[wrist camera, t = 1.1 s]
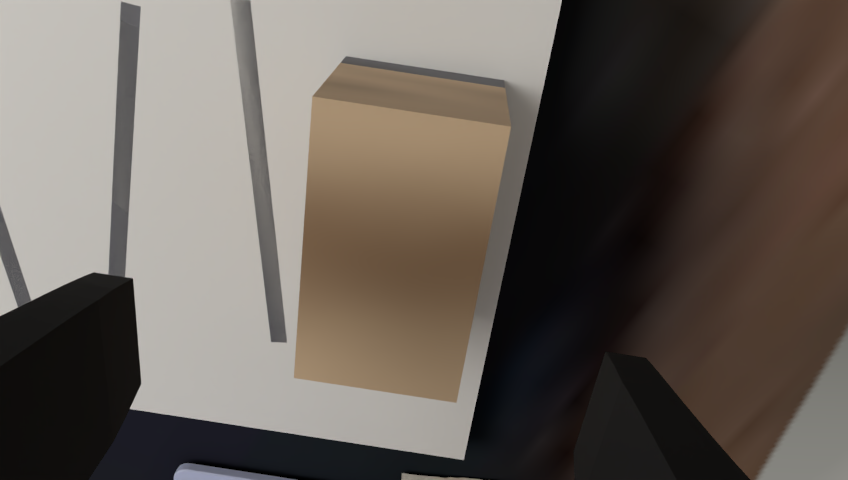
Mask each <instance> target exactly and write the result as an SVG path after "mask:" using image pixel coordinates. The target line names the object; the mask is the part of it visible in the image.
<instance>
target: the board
mask: <svg viewBox="0 0 848 480" xmlns="http://www.w3.org/2000/svg"><path fill="white" fill-rule="evenodd" d="M561 3H562V0H0V316H1V315H3V314H5V313H8V312H10V311H12V310H14V309H16V308H18V307H20V306H22V305H24V304H26V303H28V302H30V301H32V300H34V299H36V298H38V297H40V296H42V295H44V294H46V293H48V292H50V291H53V290H55V289H57V288H59V287H61V286H63V285H65V284H67V283H69V282H72V281H74V280H76V279H78V278H81V277H83V276H86V275H88V274H91V273H93V272H95V273H101V274H108V275H114V276H121V277H127V278H133V284H134V297H135V309H136V322H137V335H138V347H139V360H140V373H141V386H140V388H139V390H138V392H137V394H136V396H135V398H134V401H133V403H132V405H131V407H130V409H134V410H141V411H147V412H154V413H160V414H167V415H173V416H180V417H186V418H193V419H200V420H206V421H213V422H219V423H226V424H232V425H239V426H245V427H252V428H258V429H265V430H271V431H278V432H285V433H291V434H298V435H304V436H311V437H317V438H324V439H330V440H337V441H343V442H350V443H356V444H363V445H370V446H376V447H383V448H389V449H396V450H402V451H409V452H415V453H422V454H428V455H435V456H441V457H448V458H454V459H461V460H464V456H465V451H466V447H467V442H468V437H469V433H470V428H471V423H472V419H473V414H474V409H475V405H476V400H477V395H478V391H479V386H480V381H481V377H482V372H483V367H484V363H485V358H486V353H487V349H488V344H489V339H490V335H491V330H492V325H493V321H494V316H495V311H496V307H497V302H498V297H499V292H500V288H501V283H502V278H503V274H504V269H505V264H506V260H507V255H508V250H509V246H510V241H511V236H512V232H513V227H514V222H515V218H516V213H517V208H518V204H519V199H520V194H521V190H522V185H523V180H524V176H525V171H526V166H527V162H528V157H529V152H530V148H531V143H532V138H533V134H534V129H535V124H536V119H537V115H538V110H539V105H540V101H541V96H542V91H543V87H544V82H545V77H546V73H547V68H548V63H549V59H550V54H551V49H552V45H553V40H554V35H555V31H556V26H557V21H558V17H559V12H560V7H561ZM346 56H348V57H355V58H362V59H368V60H375V61H381V62H388V63H394V64H401V65H408V66H414V67H421V68H427V69H434V70H440V71H447V72H453V73H460V74H467V75H473V76H480V77H486V78H493V79H499V80H504V83H505V89H506V96H507V103H508V109H509V116H510V122H511V130H510V135H509V140H508V145H507V150H506V155H505V160H504V165H503V171H502V176H501V181H500V186H499V191H498V196H497V201H496V206H495V211H494V216H493V221H492V226H491V231H490V236H489V241H488V246H487V251H486V256H485V261H484V266H483V271H482V276H481V282H480V287H479V292H478V297H477V302H476V307H475V312H474V317H473V322H472V327H471V332H470V337H469V342H468V347H467V352H466V357H465V362H464V367H463V372H462V377H461V382H460V387H459V393H458V398H457V403H454V402H448V401H441V400H435V399H428V398H422V397H415V396H408V395H402V394H395V393H389V392H382V391H376V390H369V389H363V388H356V387H350V386H343V385H337V384H330V383H323V382H317V381H310V380H304V379H297V378H294V367H295V352H296V337H297V322H298V306H299V291H300V276H301V260H302V245H303V230H304V215H305V199H306V184H307V169H308V154H309V138H310V123H311V108H312V96H313V95H314V94H315V93H316V91H317V90H318V89H319V88H320V87H321V85H322V84H323V83H324V82H325V81H326V79H327V78H328V77H329V76H330V75H331V73H332V72H333V71H334V70H335V69H336V68H337V66H338V65H339V64H340V63H341V62H342V60H343V59H344V58H345V57H346Z"/></svg>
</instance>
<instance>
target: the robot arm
mask: <svg viewBox="0 0 848 480" xmlns="http://www.w3.org/2000/svg"><path fill="white" fill-rule="evenodd" d="M140 386H141V373H140V360H139V347H138V335H137V322H136V309H135V297H134V284H133V278H127V277H121V276H114V275H108V274H101V273H95V272H93V273H91V274H88V275H86V276H83V277H81V278H78V279H76V280H74V281H72V282H69V283H67V284H65V285H63V286H61V287H59V288H57V289H55V290H53V291H50V292H48V293H46V294H44V295H42V296H40V297H38V298H36V299H34V300H32V301H30V302H28V303H26V304H24V305H22V306H20V307H18V308H16V309H14V310H12V311H10V312H8V313H5V314H3V315H1V316H0V480H88V479H89V478H90V476H91V475H92V473H93V472H94V470H95V469H96V467H97V466H98V464H99V463H100V461H101V460H102V458H103V457H104V455H105V453H106V452H107V450H108V449H109V447H110V446H111V444H112V443H113V441H114V439H115V437H116V435H117V433H118V431H119V429H120V427H121V425H122V423H123V421H124V419H125V417H126V415H127V413H128V411H129V409H130V407H131V405H132V403H133V401H134V398H135V396H136V394H137V392H138V390H139V388H140ZM574 472H575V480H750V479H749V478H748V477H747V476H746V475H745V473H744V472H743V471H742V470H741V469H740V468H739V467H738V466H737V465H736V464H735V462H734V461H733V460H732V459H731V458H730V457H729V456H728V455H727V453H726V452H725V451H724V450H723V449H722V448H721V446H720V445H719V444H718V443H717V442H716V441H715V440H714V438H713V437H712V436H711V435H710V434H709V433H708V431H707V430H706V429H705V428H704V427H703V425H702V424H701V423H700V422H699V421H698V420H697V418H696V417H695V416H694V415H693V414H692V412H691V411H690V410H689V409H688V407H687V406H686V405H685V404H684V403H683V401H682V400H681V399H680V398H679V397H678V395H677V394H676V393H675V392H674V391H673V389H672V388H671V387H670V386H669V384H668V383H667V382H666V381H665V380H664V378H663V377H662V376H661V375H660V374H659V372H658V371H657V370H656V369H655V368H654V367H653V365H652V364H651V363H650V362H649V361H648V360H647V359H646V358H642V357H636V356H630V355H623V354H617V353H610V352H605V355H604V358H603V361H602V364H601V367H600V371H599V374H598V377H597V380H596V383H595V386H594V389H593V392H592V396H591V399H590V402H589V405H588V408H587V411H586V414H585V418H584V421H583V424H582V427H581V430H580V433H579V436H578V439H577V443H576V446H575V449H574ZM174 480H296V479H290V478H283V477H277V476H270V475H264V474H257V473H251V472H244V471H238V470H231V469H225V468H218V467H211V466H205V465H198V464H192V463H185V464H182V465H180V466H179V467H178V468H177V470H176V472H175V475H174Z"/></svg>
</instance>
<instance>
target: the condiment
mask: <svg viewBox="0 0 848 480" xmlns="http://www.w3.org/2000/svg"><path fill="white" fill-rule="evenodd" d="M401 480H481V479H471V478H453V477H448V478H441V477H433V476H421V475H412V474H406V473H402V479H401Z"/></svg>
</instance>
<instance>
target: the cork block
mask: <svg viewBox="0 0 848 480" xmlns="http://www.w3.org/2000/svg"><path fill="white" fill-rule="evenodd" d="M510 130H511V122H510V116H509V109H508V103H507V96H506V89H505V83H504V80H499V79H493V78H486V77H480V76H473V75H467V74H460V73H453V72H447V71H440V70H434V69H427V68H421V67H414V66H408V65H401V64H394V63H388V62H381V61H375V60H368V59H362V58H355V57H348V56H346V57H345V58H344V59H343V60H342V62H341V63H340V64H339V65H338V66H337V68H336V69H335V70H334V71H333V72H332V73H331V75H330V76H329V77H328V78H327V79H326V81H325V82H324V83H323V84H322V85H321V87H320V88H319V89H318V90H317V91H316V93H315V94H314V95H313V96H312V108H311V123H310V138H309V154H308V169H307V184H306V199H305V215H304V230H303V245H302V260H301V276H300V291H299V306H298V322H297V337H296V352H295V367H294V378H297V379H304V380H310V381H317V382H323V383H330V384H337V385H343V386H350V387H356V388H363V389H369V390H376V391H382V392H389V393H395V394H402V395H408V396H415V397H422V398H428V399H435V400H441V401H448V402H454V403H457V398H458V393H459V387H460V382H461V377H462V372H463V367H464V362H465V357H466V352H467V347H468V342H469V337H470V332H471V327H472V322H473V317H474V312H475V307H476V302H477V297H478V292H479V287H480V282H481V276H482V271H483V266H484V261H485V256H486V251H487V246H488V241H489V236H490V231H491V226H492V221H493V216H494V211H495V206H496V201H497V196H498V191H499V186H500V181H501V176H502V171H503V165H504V160H505V155H506V150H507V145H508V140H509V135H510Z"/></svg>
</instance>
